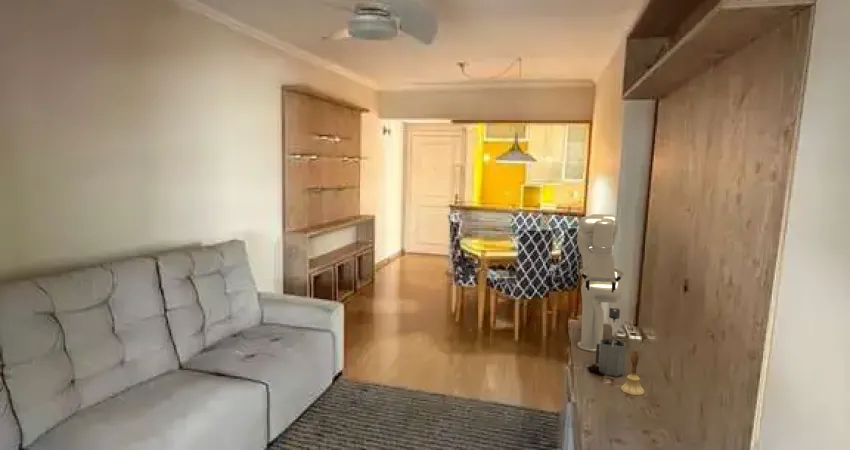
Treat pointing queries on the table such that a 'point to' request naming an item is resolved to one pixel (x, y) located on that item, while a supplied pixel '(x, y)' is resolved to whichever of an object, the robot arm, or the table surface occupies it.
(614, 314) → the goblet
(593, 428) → the table surface
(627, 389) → the hand bell
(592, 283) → the robot arm
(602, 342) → the grey octagonal cup
